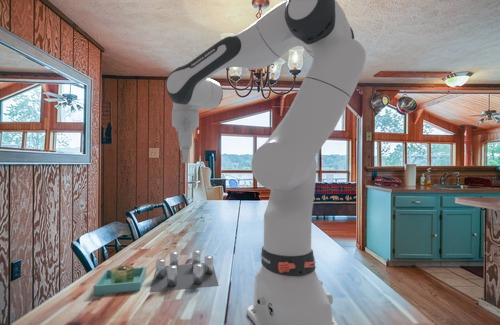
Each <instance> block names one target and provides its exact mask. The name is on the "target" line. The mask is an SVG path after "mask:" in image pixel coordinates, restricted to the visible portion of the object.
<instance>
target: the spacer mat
mask: <svg viewBox="0 0 500 325" xmlns="http://www.w3.org/2000/svg"><path fill="white" fill-rule="evenodd" d="M200 263H201V262H200ZM201 264H203V283H202V284H200V285H194V284H193V268H192V263H191V264H189V263H188V264H178V269H177V286H175V287H167V267H168V266H169V265H165V278H163V279H156V270H155V271H154V275H153V278H152V281H151V284H150V285H151V286H150V288H149V293H154V292H166V291H177V290H178V291H179V290H188V289H196V288H197V289H199V288H200V289H201V288H209V287H218V286H220V285H219V282H218V278H217V275H216V271H215V268H214V266H213V274H212V275H205V274H204V262H203V263H201Z"/></svg>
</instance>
